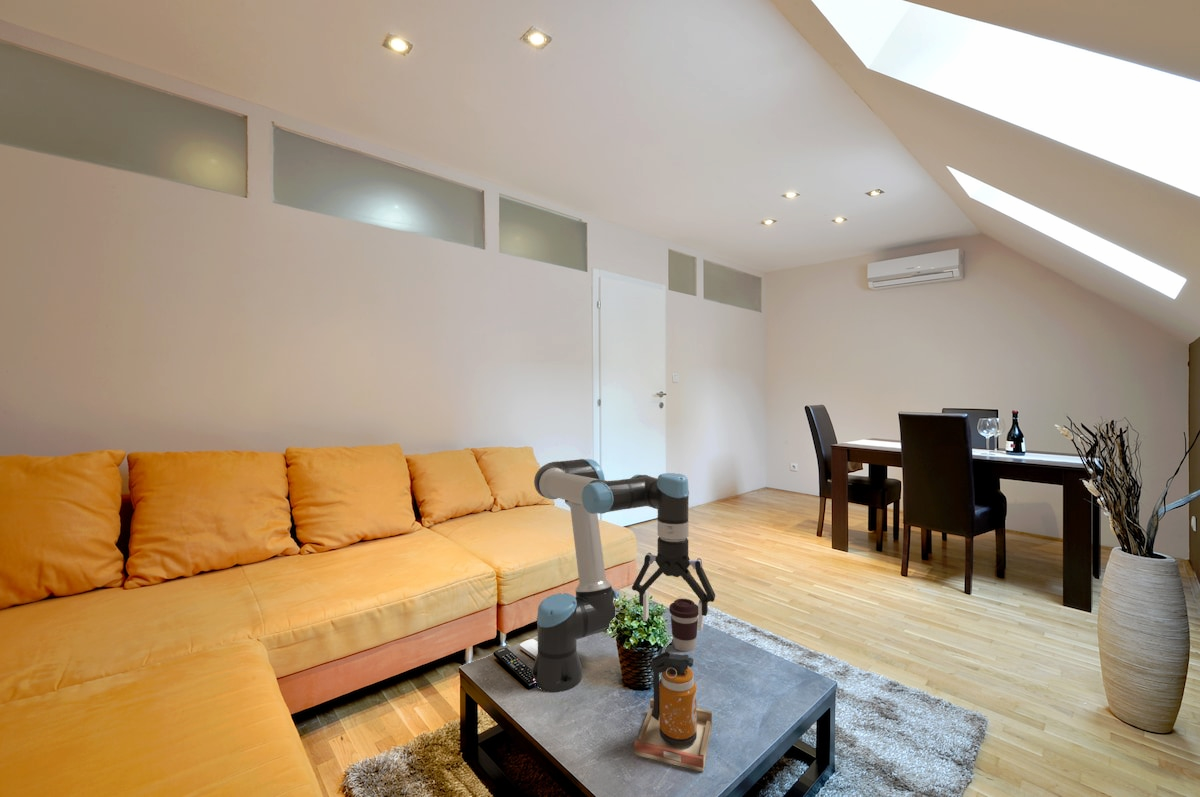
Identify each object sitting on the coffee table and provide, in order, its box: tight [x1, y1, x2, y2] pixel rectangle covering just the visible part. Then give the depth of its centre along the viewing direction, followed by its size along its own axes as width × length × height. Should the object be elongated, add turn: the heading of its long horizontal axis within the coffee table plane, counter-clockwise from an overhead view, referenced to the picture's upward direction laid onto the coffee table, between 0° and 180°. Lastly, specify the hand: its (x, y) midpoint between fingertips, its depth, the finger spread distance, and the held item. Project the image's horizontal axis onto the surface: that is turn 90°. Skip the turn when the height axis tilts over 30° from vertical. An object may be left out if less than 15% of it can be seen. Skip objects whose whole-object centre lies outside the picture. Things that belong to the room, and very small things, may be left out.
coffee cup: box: [668, 598, 698, 653], centre depth 162 cm, size 10×10×15 cm
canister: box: [650, 651, 697, 746], centre depth 118 cm, size 9×11×20 cm
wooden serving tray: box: [633, 698, 713, 773], centre depth 118 cm, size 16×16×4 cm
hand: (672, 623), depth 119 cm, fingers open, 13 cm apart
